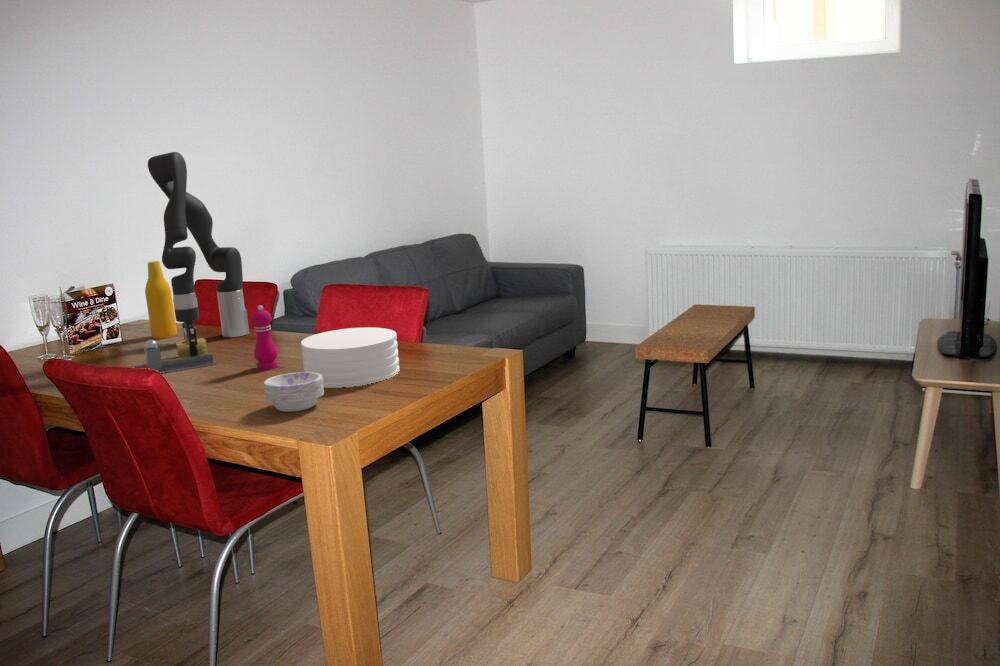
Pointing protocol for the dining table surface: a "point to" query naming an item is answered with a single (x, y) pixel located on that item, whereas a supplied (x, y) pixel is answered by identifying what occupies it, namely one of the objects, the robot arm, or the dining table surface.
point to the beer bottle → (159, 303)
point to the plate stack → (352, 356)
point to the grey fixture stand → (174, 360)
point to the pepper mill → (264, 340)
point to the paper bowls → (294, 390)
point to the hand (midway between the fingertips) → (192, 354)
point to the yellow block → (185, 350)
